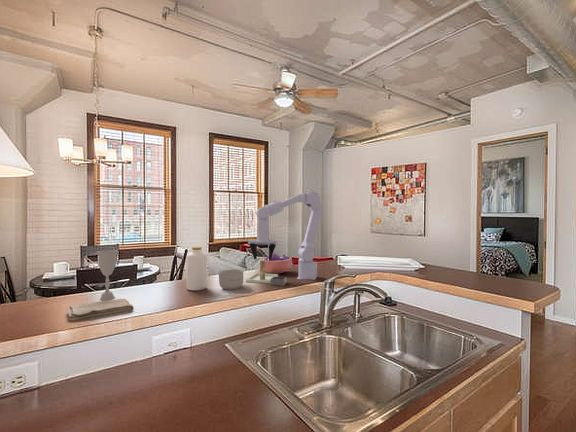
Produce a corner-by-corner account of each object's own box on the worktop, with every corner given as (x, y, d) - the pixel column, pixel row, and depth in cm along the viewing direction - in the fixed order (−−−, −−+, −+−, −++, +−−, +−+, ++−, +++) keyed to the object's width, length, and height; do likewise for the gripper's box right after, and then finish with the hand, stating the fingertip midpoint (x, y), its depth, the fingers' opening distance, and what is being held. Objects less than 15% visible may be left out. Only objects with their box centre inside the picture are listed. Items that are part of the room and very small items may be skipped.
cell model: (298, 272, 174) (299, 252, 174) (279, 278, 157) (279, 256, 157) (274, 269, 183) (274, 249, 183) (252, 274, 166) (253, 253, 166)
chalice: (107, 301, 115) (107, 252, 114) (91, 300, 116) (92, 252, 116) (122, 296, 122) (122, 250, 122) (107, 295, 123) (107, 249, 123)
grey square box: (286, 283, 145) (286, 277, 145) (283, 287, 139) (283, 279, 139) (273, 283, 146) (273, 276, 146) (270, 286, 140) (270, 279, 140)
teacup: (230, 293, 127) (230, 274, 127) (212, 289, 134) (212, 270, 134) (253, 287, 138) (253, 269, 138) (236, 283, 145) (236, 266, 145)
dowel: (265, 278, 153) (265, 260, 153) (264, 279, 151) (264, 261, 151) (260, 278, 153) (260, 260, 154) (259, 279, 151) (259, 261, 151)
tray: (278, 277, 159) (278, 274, 159) (270, 284, 143) (270, 280, 143) (255, 276, 161) (255, 273, 161) (245, 283, 146) (245, 279, 146)
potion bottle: (182, 289, 133) (182, 247, 132) (196, 285, 140) (196, 246, 140) (196, 292, 129) (196, 248, 128) (210, 288, 136) (210, 247, 136)
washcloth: (66, 313, 102) (66, 304, 102) (126, 304, 113) (126, 295, 113) (68, 324, 93) (68, 313, 93) (134, 312, 104) (134, 303, 104)
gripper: (246, 231, 150) (245, 259, 150) (275, 232, 147) (275, 261, 147) (250, 231, 156) (250, 257, 157) (278, 231, 154) (278, 258, 154)
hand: (262, 259), depth 152 cm, fingers open, 7 cm apart
